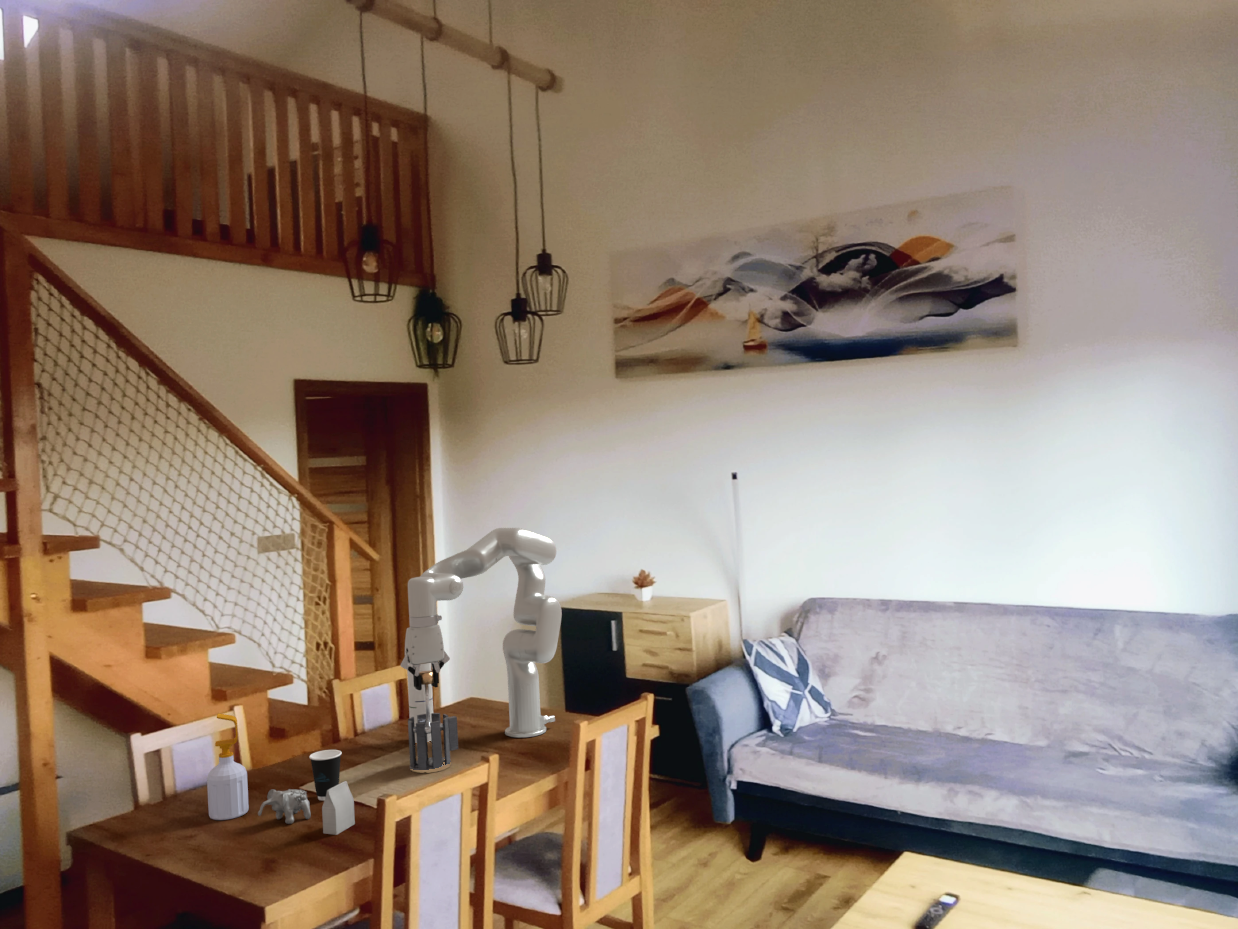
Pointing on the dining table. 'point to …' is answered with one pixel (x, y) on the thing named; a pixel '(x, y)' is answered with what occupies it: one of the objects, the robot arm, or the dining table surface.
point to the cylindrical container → (419, 698)
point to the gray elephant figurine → (287, 803)
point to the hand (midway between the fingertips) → (426, 687)
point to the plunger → (427, 699)
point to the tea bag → (338, 809)
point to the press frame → (432, 741)
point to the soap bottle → (227, 782)
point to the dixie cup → (325, 770)
